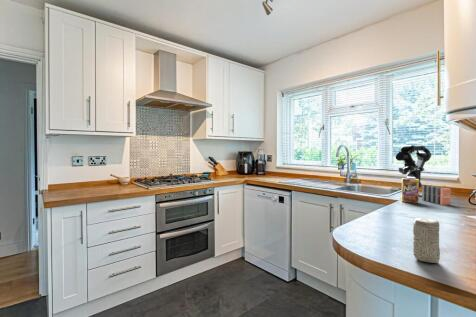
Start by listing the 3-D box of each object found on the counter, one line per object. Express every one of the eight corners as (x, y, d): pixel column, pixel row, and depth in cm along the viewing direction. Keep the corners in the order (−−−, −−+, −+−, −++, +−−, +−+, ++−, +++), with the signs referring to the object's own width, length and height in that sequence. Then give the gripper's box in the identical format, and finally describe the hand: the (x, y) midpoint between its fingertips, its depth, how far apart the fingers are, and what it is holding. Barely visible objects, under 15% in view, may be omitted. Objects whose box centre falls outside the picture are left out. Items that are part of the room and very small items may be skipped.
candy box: (401, 202, 161) (402, 178, 161) (401, 200, 165) (401, 178, 165) (418, 203, 157) (418, 179, 157) (417, 202, 161) (417, 178, 160)
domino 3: (430, 202, 161) (431, 186, 161) (438, 202, 161) (438, 186, 161) (432, 202, 160) (433, 187, 159) (440, 202, 160) (440, 187, 159)
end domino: (440, 204, 154) (440, 188, 153) (448, 204, 154) (448, 188, 153) (442, 205, 152) (442, 188, 152) (450, 205, 152) (450, 188, 152)
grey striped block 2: (426, 201, 165) (426, 186, 165) (433, 201, 165) (434, 186, 165) (428, 201, 163) (428, 186, 163) (435, 201, 163) (436, 186, 163)
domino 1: (422, 199, 169) (422, 185, 169) (429, 200, 169) (429, 185, 169) (423, 200, 167) (424, 185, 167) (431, 200, 167) (431, 185, 167)
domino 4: (435, 203, 157) (435, 187, 157) (443, 203, 157) (443, 187, 157) (437, 203, 156) (437, 188, 156) (445, 203, 156) (445, 188, 156)
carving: (438, 258, 74) (439, 218, 73) (441, 268, 67) (442, 224, 67) (412, 254, 77) (413, 215, 77) (412, 262, 71) (413, 221, 71)
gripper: (405, 167, 195) (415, 185, 187) (391, 165, 186) (401, 184, 178) (419, 160, 186) (430, 179, 179) (406, 158, 177) (417, 178, 170)
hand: (419, 180), depth 177 cm, fingers closed
